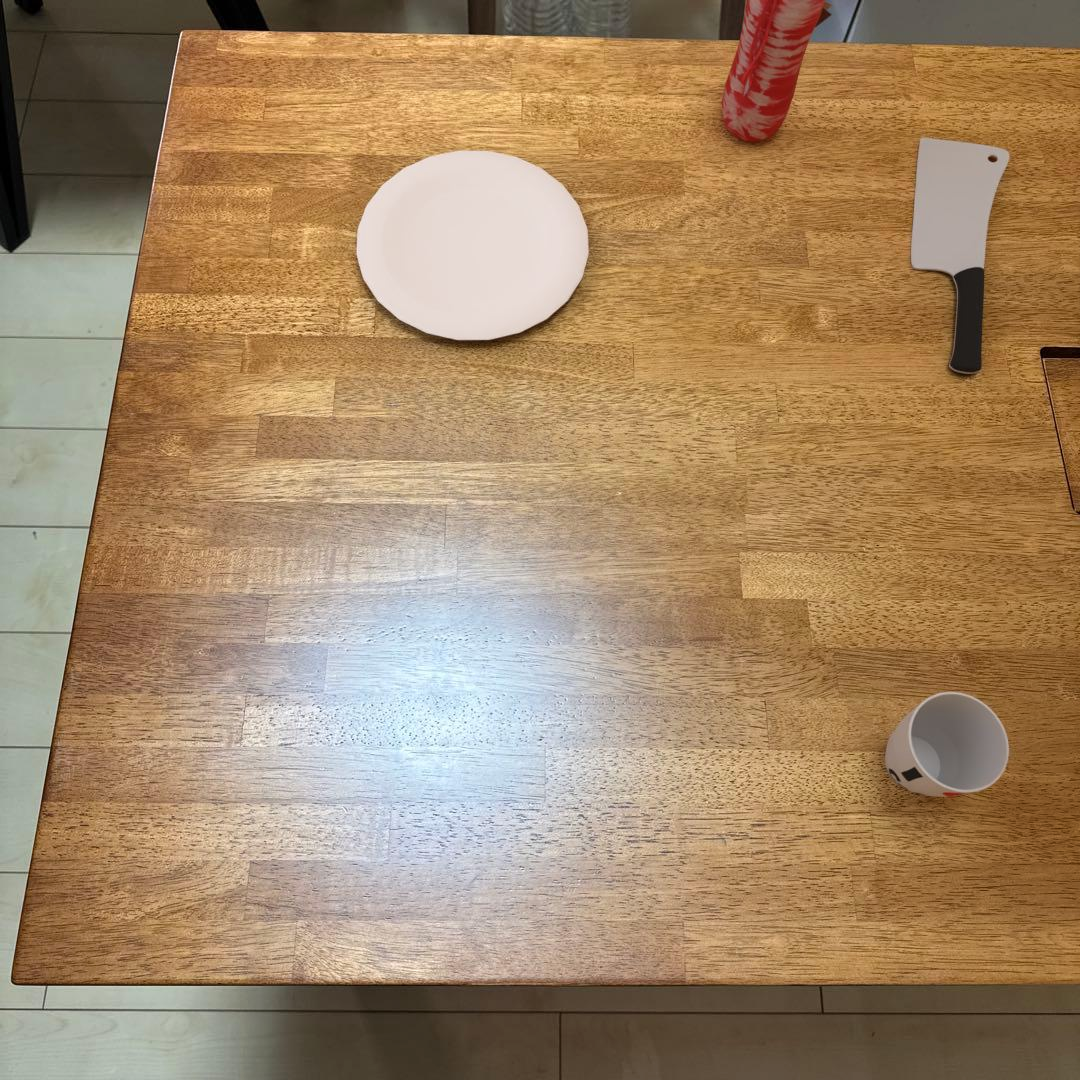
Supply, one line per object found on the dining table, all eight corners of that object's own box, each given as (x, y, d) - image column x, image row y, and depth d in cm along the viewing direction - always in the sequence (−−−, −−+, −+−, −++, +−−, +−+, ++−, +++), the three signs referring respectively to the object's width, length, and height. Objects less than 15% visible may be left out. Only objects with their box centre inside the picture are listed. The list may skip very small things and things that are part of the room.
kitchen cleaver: (921, 132, 118) (1012, 141, 116) (918, 143, 119) (1007, 152, 118) (896, 358, 106) (996, 372, 105) (892, 367, 108) (990, 381, 106)
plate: (369, 361, 105) (367, 352, 103) (347, 171, 114) (345, 160, 113) (607, 333, 107) (608, 324, 106) (567, 148, 116) (568, 137, 115)
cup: (857, 787, 90) (897, 769, 81) (880, 704, 93) (921, 677, 84) (946, 822, 89) (997, 808, 80) (966, 737, 92) (1018, 713, 83)
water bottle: (758, 70, 122) (817, -137, 98) (813, 104, 120) (886, -98, 97) (697, 128, 118) (744, -73, 95) (753, 165, 116) (814, -31, 93)
